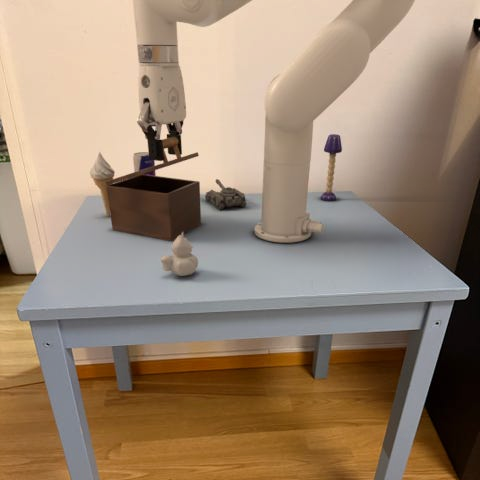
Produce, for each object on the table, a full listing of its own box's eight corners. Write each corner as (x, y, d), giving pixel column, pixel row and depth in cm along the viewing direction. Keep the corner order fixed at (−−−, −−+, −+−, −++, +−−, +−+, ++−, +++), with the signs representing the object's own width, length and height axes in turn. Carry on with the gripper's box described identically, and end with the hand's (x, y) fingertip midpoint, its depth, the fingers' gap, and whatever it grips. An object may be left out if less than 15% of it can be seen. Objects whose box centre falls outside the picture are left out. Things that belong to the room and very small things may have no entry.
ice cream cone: (124, 214, 111) (117, 150, 104) (112, 221, 107) (102, 154, 99) (105, 212, 113) (96, 148, 105) (91, 218, 108) (81, 152, 101)
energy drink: (155, 203, 120) (151, 156, 114) (135, 203, 120) (130, 155, 114) (159, 198, 124) (155, 152, 118) (139, 197, 124) (135, 151, 118)
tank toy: (201, 199, 123) (200, 180, 121) (233, 196, 127) (233, 177, 124) (216, 211, 114) (216, 191, 111) (250, 208, 117) (251, 187, 115)
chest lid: (199, 155, 98) (191, 131, 96) (166, 166, 88) (157, 139, 86) (142, 173, 106) (134, 151, 104) (106, 185, 96) (97, 161, 94)
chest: (201, 224, 105) (199, 181, 100) (171, 241, 96) (168, 194, 91) (145, 214, 111) (142, 173, 106) (112, 229, 101) (106, 185, 96)
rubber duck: (202, 277, 80) (200, 234, 76) (165, 283, 78) (162, 239, 74) (193, 266, 84) (191, 224, 80) (158, 271, 82) (155, 228, 78)
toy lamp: (337, 201, 123) (345, 136, 114) (320, 201, 123) (326, 136, 115) (334, 197, 127) (341, 133, 119) (317, 197, 127) (324, 133, 119)
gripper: (148, 57, 77) (157, 166, 86) (198, 57, 90) (202, 152, 100) (112, 57, 80) (125, 163, 89) (167, 57, 93) (173, 149, 102)
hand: (166, 156), depth 94 cm, fingers closed on chest lid, 6 cm apart
